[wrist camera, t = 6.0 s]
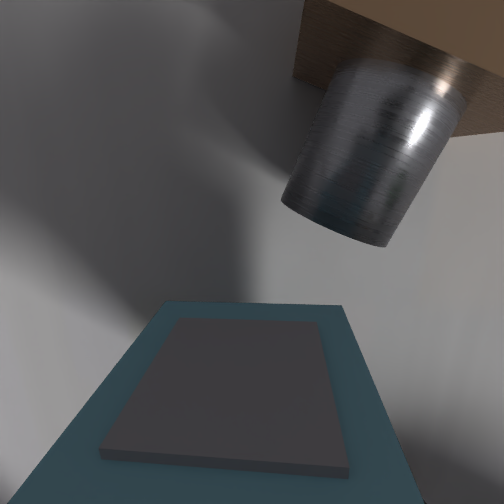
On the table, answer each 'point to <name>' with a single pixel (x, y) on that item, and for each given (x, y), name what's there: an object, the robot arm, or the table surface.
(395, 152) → the shaft
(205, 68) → the table surface
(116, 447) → the light blue block
